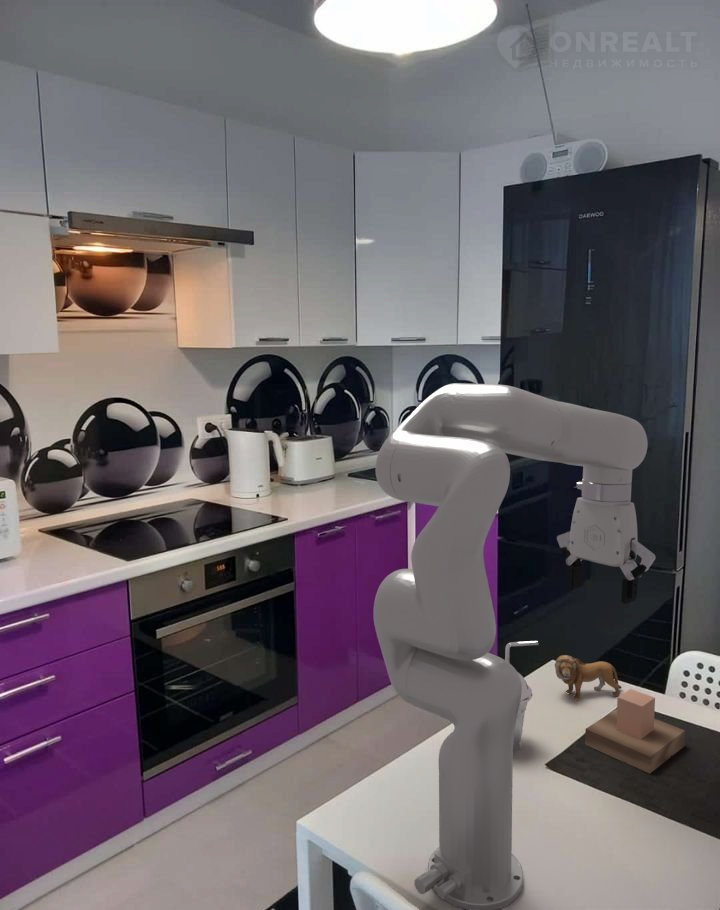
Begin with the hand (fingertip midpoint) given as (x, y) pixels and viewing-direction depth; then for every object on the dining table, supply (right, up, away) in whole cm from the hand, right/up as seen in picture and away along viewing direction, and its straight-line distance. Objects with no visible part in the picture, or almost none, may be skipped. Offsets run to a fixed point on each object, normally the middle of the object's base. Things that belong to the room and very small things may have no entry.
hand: (601, 594), depth 122 cm
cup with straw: (-14, -28, +8) cm, 33 cm away
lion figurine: (+6, -25, +26) cm, 36 cm away
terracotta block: (+8, -25, +7) cm, 27 cm away
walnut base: (+8, -28, +7) cm, 30 cm away
